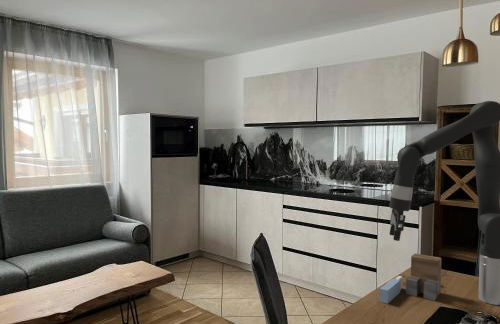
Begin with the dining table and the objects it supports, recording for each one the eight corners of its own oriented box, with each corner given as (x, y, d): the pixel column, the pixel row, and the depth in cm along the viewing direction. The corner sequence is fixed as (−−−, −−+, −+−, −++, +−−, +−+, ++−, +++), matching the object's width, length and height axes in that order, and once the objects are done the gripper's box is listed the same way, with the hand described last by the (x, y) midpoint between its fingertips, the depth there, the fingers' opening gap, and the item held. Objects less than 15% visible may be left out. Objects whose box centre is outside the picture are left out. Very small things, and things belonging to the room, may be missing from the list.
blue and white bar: (396, 287, 159) (396, 275, 158) (404, 288, 157) (404, 276, 156) (379, 301, 144) (379, 288, 144) (387, 303, 142) (387, 290, 142)
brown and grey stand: (413, 286, 159) (414, 253, 158) (441, 292, 152) (442, 258, 152) (405, 293, 151) (406, 258, 151) (434, 300, 145) (435, 264, 144)
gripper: (415, 201, 142) (408, 244, 144) (407, 196, 156) (400, 235, 157) (394, 198, 144) (387, 240, 145) (388, 193, 158) (381, 231, 159)
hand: (394, 237), depth 151 cm, fingers open, 8 cm apart
